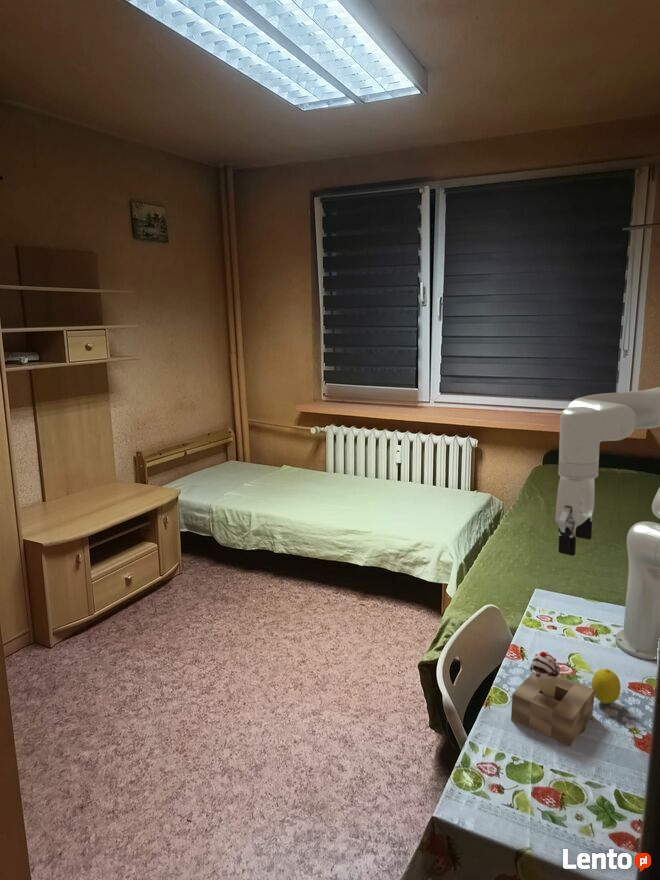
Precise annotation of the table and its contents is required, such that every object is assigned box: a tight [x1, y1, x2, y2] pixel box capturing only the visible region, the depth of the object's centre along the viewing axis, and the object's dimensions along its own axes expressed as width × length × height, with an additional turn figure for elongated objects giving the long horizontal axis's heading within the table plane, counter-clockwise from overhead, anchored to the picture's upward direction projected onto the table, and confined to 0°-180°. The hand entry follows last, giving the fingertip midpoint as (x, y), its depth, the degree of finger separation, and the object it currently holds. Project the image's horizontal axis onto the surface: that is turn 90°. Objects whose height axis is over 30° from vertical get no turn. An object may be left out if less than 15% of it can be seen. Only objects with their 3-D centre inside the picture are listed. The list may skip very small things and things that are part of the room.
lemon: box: [591, 668, 621, 705], centre depth 126 cm, size 6×6×8 cm
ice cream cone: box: [529, 651, 561, 699], centre depth 121 cm, size 6×6×15 cm
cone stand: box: [510, 672, 595, 748], centre depth 122 cm, size 12×12×6 cm
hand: (575, 545), depth 127 cm, fingers open, 9 cm apart
